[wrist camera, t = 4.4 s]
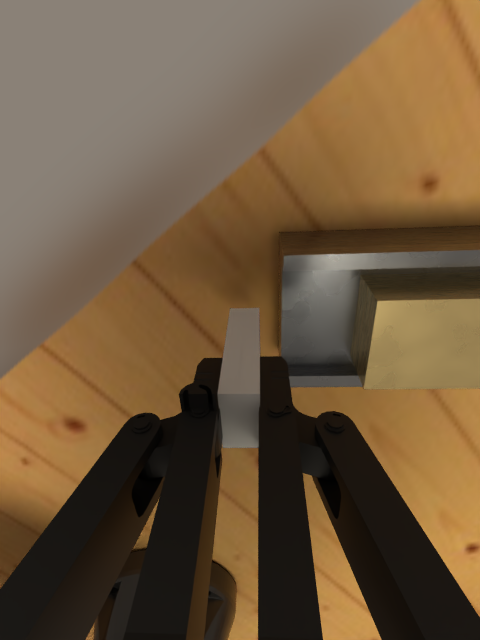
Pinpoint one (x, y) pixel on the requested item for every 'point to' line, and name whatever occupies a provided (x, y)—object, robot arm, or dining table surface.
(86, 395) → the dining table surface
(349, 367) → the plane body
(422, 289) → the tan rectangular block
